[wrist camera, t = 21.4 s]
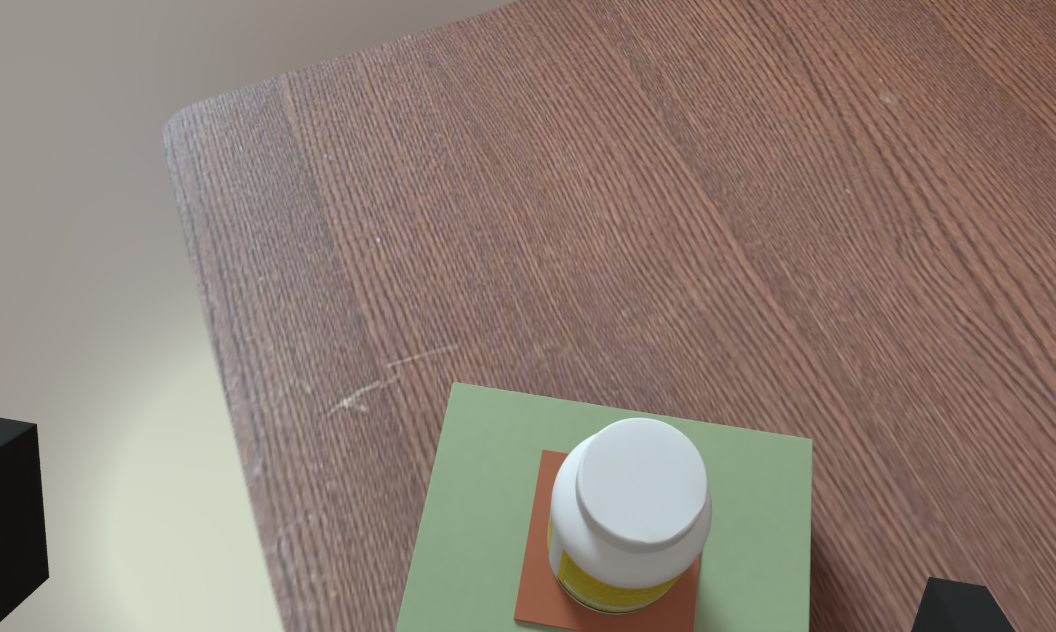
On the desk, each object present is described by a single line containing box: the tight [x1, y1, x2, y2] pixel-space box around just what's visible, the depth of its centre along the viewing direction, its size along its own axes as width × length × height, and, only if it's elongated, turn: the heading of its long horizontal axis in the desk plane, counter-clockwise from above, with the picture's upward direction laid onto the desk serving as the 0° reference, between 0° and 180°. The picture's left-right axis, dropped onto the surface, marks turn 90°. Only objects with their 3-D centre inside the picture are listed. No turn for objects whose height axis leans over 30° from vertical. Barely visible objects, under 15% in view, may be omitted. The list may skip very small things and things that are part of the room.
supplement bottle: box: [547, 418, 712, 615], centre depth 29 cm, size 5×5×10 cm
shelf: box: [396, 382, 813, 632], centre depth 36 cm, size 16×12×5 cm
